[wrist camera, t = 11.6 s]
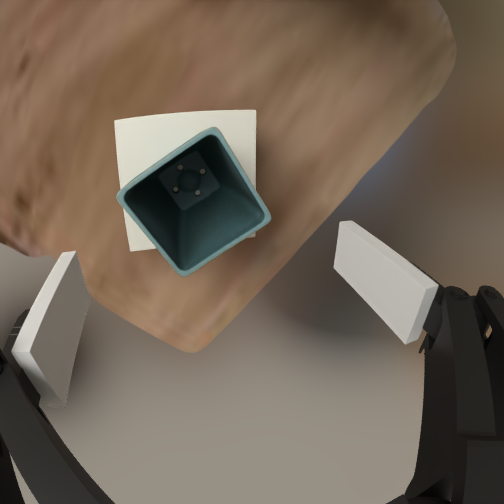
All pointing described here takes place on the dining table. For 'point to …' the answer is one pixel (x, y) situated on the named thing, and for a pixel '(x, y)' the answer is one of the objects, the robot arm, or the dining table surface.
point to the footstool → (171, 137)
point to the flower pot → (195, 202)
